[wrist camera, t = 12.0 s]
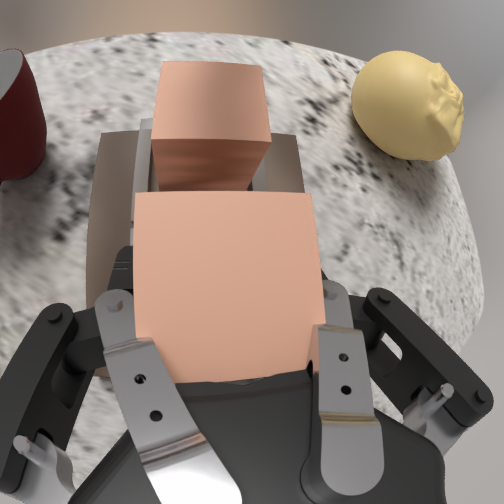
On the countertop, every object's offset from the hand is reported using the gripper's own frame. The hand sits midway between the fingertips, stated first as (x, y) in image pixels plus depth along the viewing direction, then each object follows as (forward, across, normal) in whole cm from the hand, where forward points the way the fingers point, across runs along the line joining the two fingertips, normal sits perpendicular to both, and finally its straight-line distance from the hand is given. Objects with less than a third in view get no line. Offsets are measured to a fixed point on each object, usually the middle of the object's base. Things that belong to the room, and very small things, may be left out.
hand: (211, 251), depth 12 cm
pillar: (+2, 0, +4) cm, 5 cm away
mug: (+12, +16, -1) cm, 20 cm away
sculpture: (+17, -20, -5) cm, 26 cm away
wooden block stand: (+7, 0, +4) cm, 8 cm away
